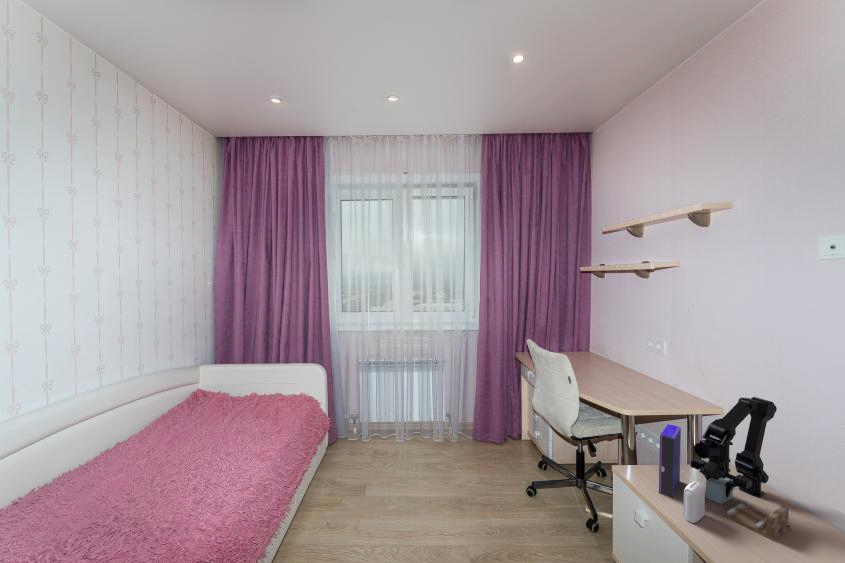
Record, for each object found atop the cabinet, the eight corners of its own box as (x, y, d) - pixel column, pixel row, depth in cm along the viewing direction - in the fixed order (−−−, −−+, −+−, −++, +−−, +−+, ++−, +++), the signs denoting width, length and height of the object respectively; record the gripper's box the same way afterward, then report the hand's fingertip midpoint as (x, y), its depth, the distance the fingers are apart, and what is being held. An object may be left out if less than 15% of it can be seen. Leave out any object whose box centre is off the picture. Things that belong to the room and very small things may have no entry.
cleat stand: (740, 505, 136) (740, 488, 137) (790, 528, 124) (790, 508, 124) (723, 515, 130) (723, 497, 130) (773, 540, 118) (774, 520, 118)
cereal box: (666, 477, 156) (667, 423, 156) (679, 481, 153) (680, 427, 153) (658, 493, 144) (659, 435, 144) (672, 498, 140) (674, 438, 141)
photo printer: (692, 509, 134) (693, 477, 134) (706, 515, 130) (706, 482, 130) (681, 518, 128) (681, 485, 128) (695, 525, 124) (696, 490, 125)
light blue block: (718, 490, 146) (718, 474, 146) (732, 497, 142) (733, 480, 142) (705, 497, 142) (706, 479, 142) (720, 504, 137) (720, 486, 137)
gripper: (683, 449, 147) (682, 486, 146) (739, 471, 130) (738, 512, 130) (697, 444, 152) (696, 480, 152) (753, 464, 135) (752, 504, 135)
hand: (719, 493), depth 142 cm, fingers closed on light blue block, 5 cm apart
